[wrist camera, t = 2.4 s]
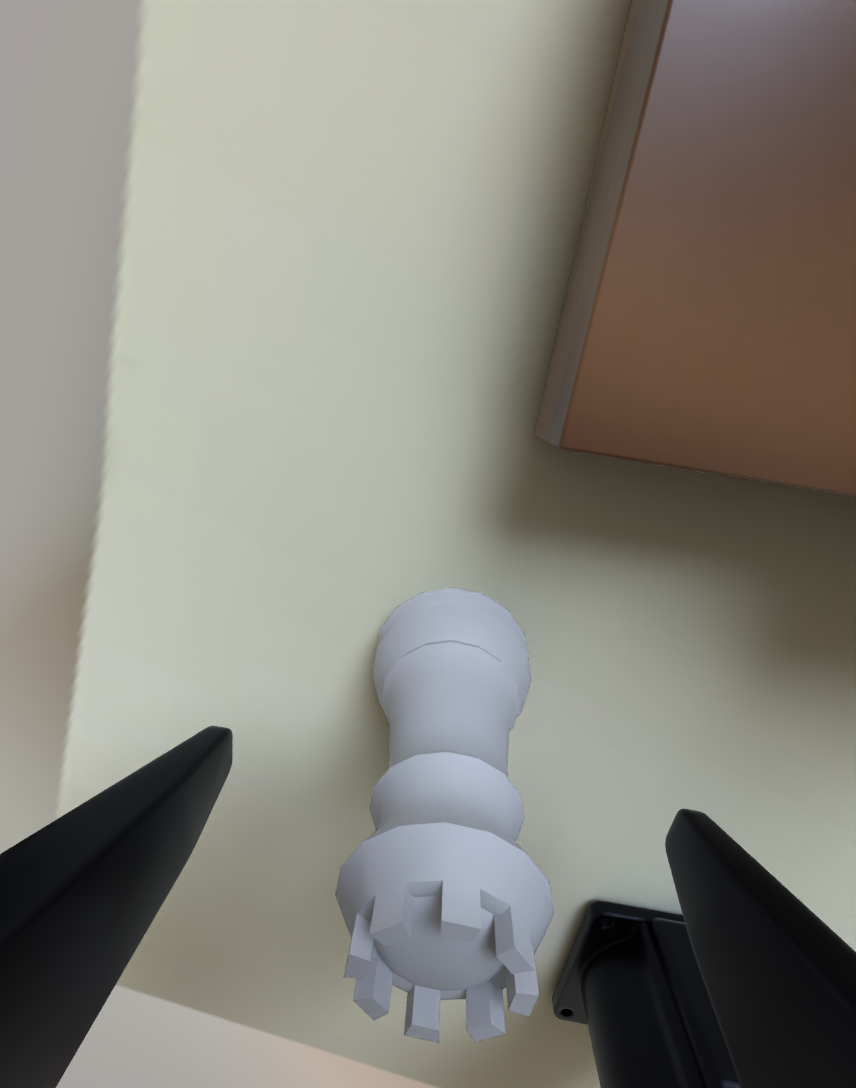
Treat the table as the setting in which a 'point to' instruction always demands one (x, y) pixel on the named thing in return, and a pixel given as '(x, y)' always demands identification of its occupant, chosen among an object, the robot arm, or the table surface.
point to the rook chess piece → (447, 824)
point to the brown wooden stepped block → (719, 250)
